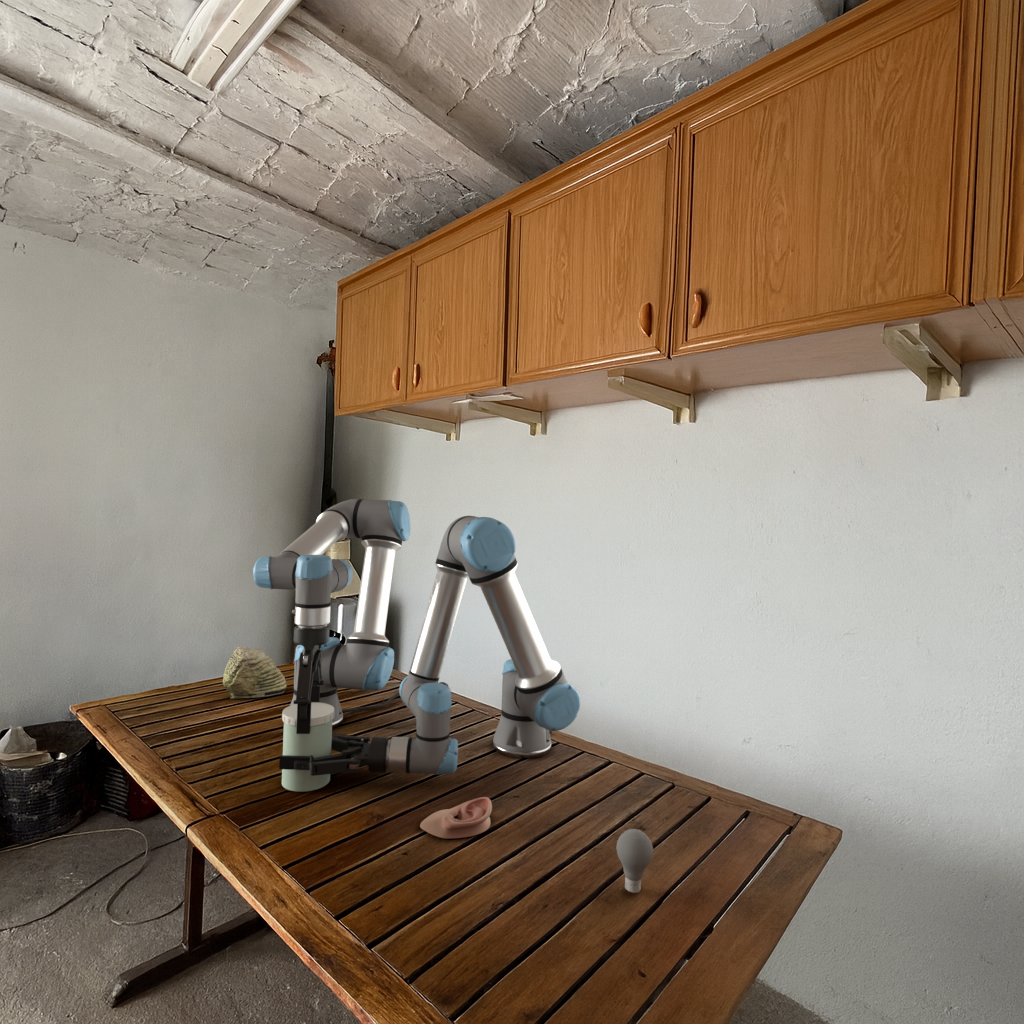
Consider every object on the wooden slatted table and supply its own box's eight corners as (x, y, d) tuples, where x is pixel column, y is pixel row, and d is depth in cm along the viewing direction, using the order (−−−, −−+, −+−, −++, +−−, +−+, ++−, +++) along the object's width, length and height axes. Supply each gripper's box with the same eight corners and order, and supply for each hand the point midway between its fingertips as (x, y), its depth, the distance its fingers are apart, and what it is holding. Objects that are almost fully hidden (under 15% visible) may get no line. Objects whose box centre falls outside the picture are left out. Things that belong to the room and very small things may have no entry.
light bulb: (610, 879, 108) (613, 822, 108) (644, 879, 109) (647, 822, 109) (619, 902, 102) (622, 840, 102) (655, 901, 103) (658, 840, 103)
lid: (337, 724, 137) (337, 716, 137) (282, 728, 133) (283, 720, 133) (331, 707, 148) (331, 700, 148) (281, 711, 144) (281, 704, 144)
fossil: (218, 695, 195) (220, 647, 195) (278, 685, 208) (279, 640, 207) (228, 703, 189) (230, 653, 188) (289, 692, 201) (290, 645, 201)
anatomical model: (414, 813, 120) (434, 787, 131) (414, 834, 120) (433, 806, 131) (482, 823, 117) (496, 795, 129) (481, 844, 118) (495, 815, 129)
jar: (332, 788, 138) (335, 717, 138) (282, 794, 134) (285, 722, 134) (327, 768, 147) (330, 703, 147) (280, 774, 144) (283, 706, 143)
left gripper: (304, 614, 151) (300, 706, 152) (282, 636, 128) (278, 744, 128) (336, 615, 152) (333, 706, 153) (321, 636, 129) (316, 743, 129)
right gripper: (379, 795, 130) (269, 792, 129) (395, 751, 153) (302, 748, 152) (380, 759, 130) (271, 756, 129) (396, 720, 153) (303, 717, 152)
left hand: (308, 723), depth 141 cm, fingers closed on lid, 11 cm apart
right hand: (288, 751), depth 140 cm, fingers closed on jar, 10 cm apart
